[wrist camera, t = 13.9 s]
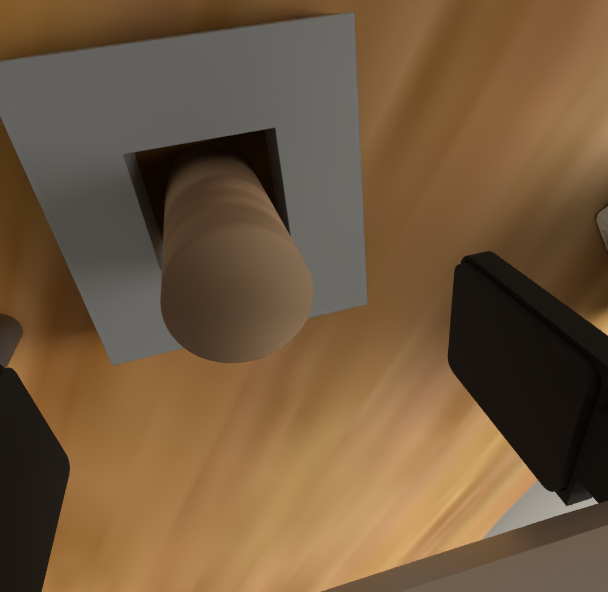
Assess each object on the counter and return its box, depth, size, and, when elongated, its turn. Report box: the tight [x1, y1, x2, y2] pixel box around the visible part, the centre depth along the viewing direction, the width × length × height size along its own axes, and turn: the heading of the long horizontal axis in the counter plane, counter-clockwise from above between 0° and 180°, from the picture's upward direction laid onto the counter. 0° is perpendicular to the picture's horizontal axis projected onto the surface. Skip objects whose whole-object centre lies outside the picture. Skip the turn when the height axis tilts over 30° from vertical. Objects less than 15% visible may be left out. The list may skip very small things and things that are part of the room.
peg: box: [160, 143, 314, 363], centre depth 16 cm, size 4×4×10 cm
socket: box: [0, 12, 367, 365], centre depth 19 cm, size 12×12×3 cm
